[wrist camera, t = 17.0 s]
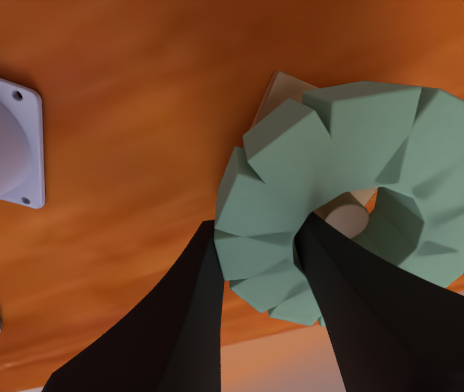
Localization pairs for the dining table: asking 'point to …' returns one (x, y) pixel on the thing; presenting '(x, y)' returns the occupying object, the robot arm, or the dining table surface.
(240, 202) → the ring
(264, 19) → the dining table surface
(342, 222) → the peg stand
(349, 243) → the robot arm
